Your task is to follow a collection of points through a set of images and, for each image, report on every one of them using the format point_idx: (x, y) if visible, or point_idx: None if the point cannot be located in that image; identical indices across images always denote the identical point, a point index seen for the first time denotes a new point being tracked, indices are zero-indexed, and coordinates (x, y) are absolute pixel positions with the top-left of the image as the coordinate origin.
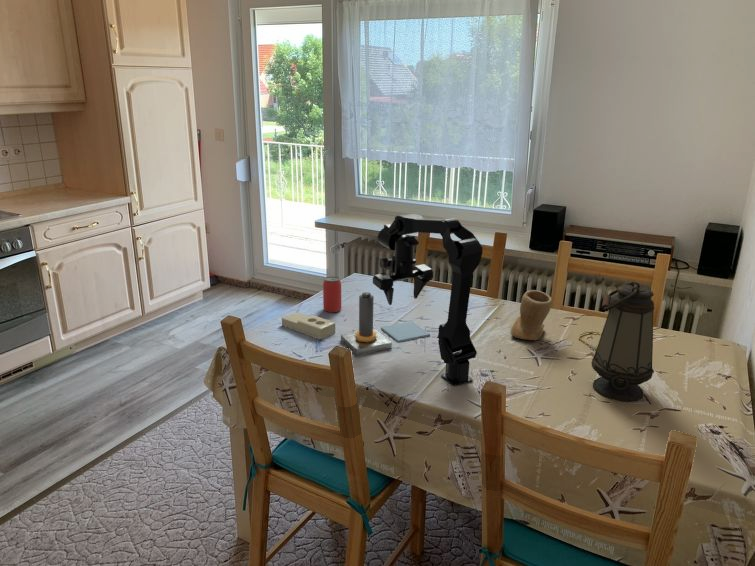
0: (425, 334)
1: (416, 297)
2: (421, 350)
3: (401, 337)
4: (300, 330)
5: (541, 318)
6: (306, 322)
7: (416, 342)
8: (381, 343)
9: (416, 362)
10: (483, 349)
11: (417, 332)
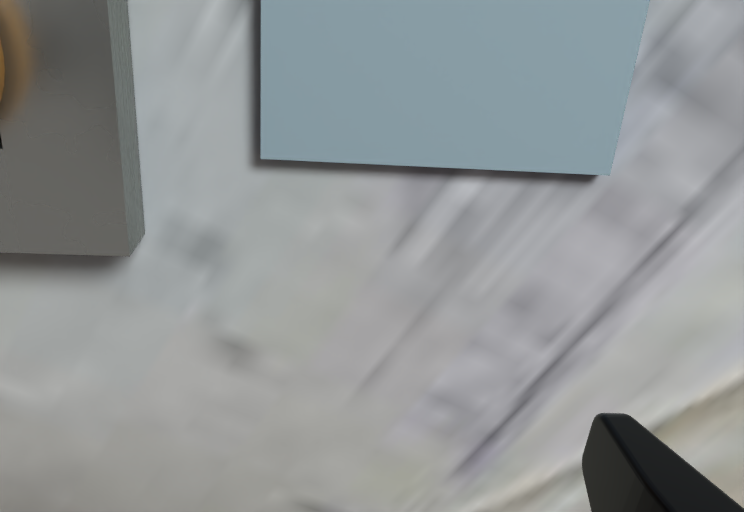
0: (567, 165)
1: (601, 507)
2: (354, 364)
3: (327, 112)
4: None
5: None
6: None
7: (409, 231)
8: (17, 233)
9: (213, 488)
10: None
11: (536, 88)
